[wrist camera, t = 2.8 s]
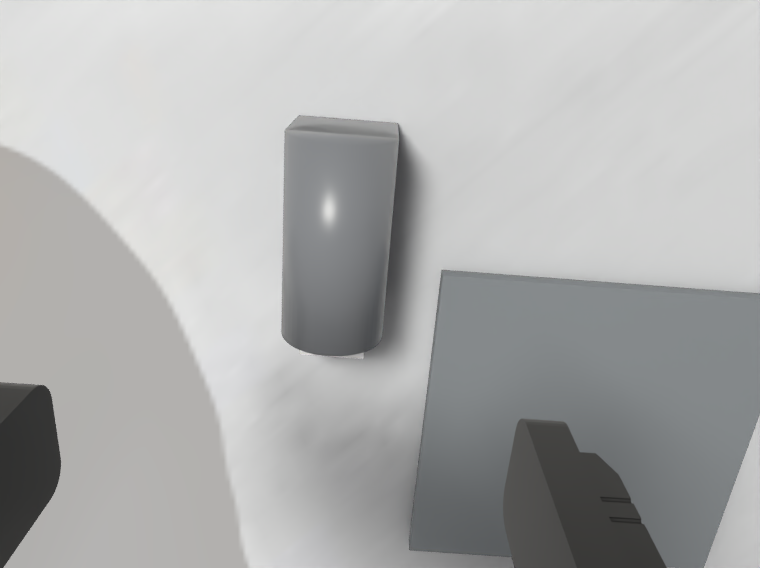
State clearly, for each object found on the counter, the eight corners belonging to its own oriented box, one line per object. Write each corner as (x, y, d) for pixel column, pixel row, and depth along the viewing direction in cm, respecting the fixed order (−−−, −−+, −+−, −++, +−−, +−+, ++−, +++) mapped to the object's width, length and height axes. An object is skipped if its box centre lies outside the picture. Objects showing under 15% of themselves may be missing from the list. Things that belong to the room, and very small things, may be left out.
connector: (397, 123, 23) (400, 149, 18) (380, 325, 26) (379, 390, 21) (299, 115, 23) (275, 139, 18) (293, 318, 26) (273, 383, 21)
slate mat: (791, 296, 25) (800, 302, 25) (697, 559, 31) (702, 570, 30) (441, 269, 25) (442, 275, 24) (408, 540, 30) (409, 549, 30)
